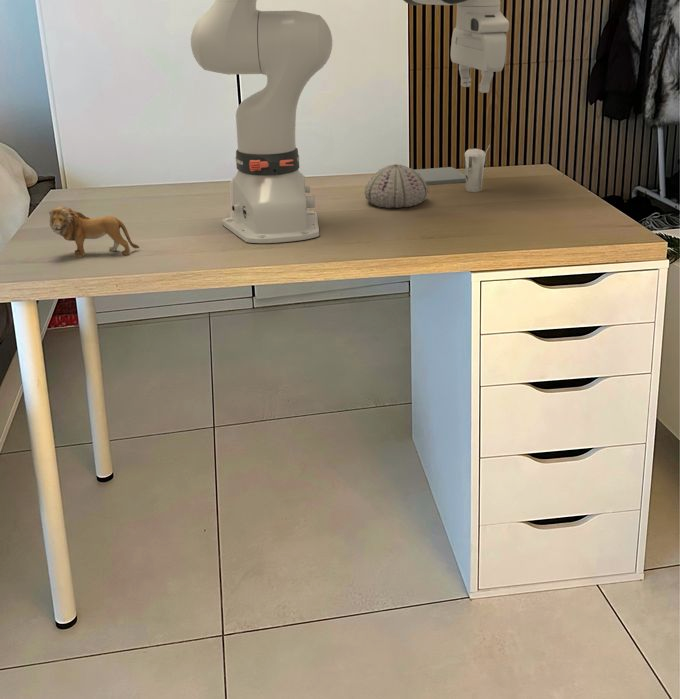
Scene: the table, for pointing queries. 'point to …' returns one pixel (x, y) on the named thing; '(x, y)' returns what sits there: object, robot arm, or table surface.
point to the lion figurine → (88, 229)
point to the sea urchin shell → (396, 187)
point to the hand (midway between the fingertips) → (474, 89)
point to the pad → (441, 175)
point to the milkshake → (474, 169)
